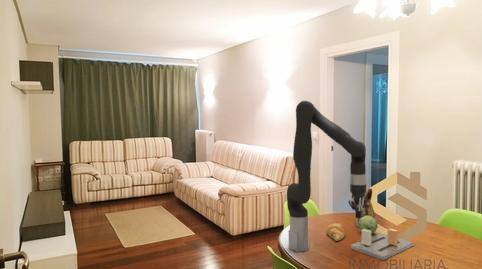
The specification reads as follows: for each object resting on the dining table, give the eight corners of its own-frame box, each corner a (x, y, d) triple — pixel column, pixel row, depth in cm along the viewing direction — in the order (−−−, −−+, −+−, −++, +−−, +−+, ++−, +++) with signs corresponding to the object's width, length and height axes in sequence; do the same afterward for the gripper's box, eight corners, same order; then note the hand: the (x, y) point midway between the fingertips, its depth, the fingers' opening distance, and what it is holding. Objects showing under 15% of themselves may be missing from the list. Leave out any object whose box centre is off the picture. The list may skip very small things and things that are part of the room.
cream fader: (368, 245, 168) (368, 231, 167) (361, 243, 171) (361, 229, 170) (371, 244, 169) (371, 230, 168) (364, 242, 172) (364, 228, 172)
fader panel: (383, 260, 156) (383, 256, 156) (350, 248, 171) (350, 244, 170) (413, 246, 171) (413, 242, 171) (380, 236, 186) (380, 232, 185)
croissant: (342, 249, 179) (350, 236, 178) (325, 239, 180) (332, 227, 179) (339, 234, 200) (345, 222, 198) (323, 225, 201) (329, 214, 200)
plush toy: (350, 227, 198) (359, 186, 196) (349, 220, 211) (358, 182, 209) (375, 234, 194) (385, 192, 192) (373, 227, 208) (382, 187, 205)
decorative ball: (379, 236, 185) (378, 218, 184) (360, 236, 187) (359, 218, 186) (375, 230, 195) (375, 213, 194) (357, 230, 197) (357, 213, 196)
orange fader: (395, 245, 167) (394, 231, 166) (387, 243, 170) (387, 229, 170) (397, 244, 168) (397, 230, 168) (390, 241, 171) (390, 228, 171)
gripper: (356, 186, 158) (356, 222, 159) (373, 181, 165) (373, 216, 166) (343, 183, 164) (343, 218, 165) (359, 179, 171) (360, 213, 172)
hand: (358, 217), depth 166 cm, fingers closed
